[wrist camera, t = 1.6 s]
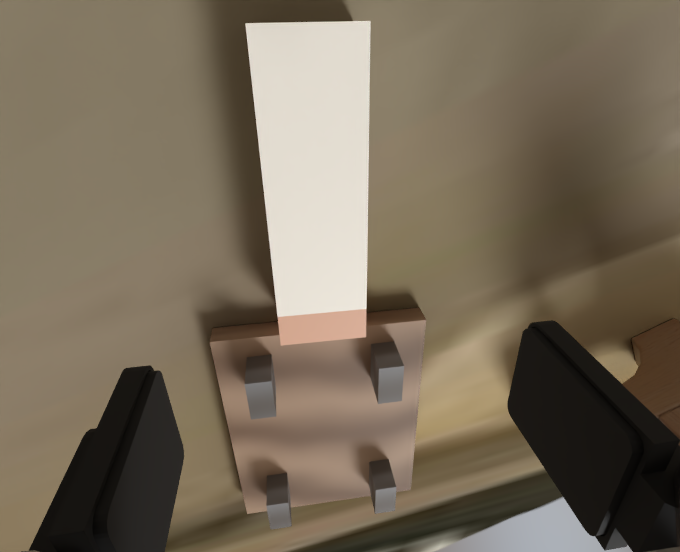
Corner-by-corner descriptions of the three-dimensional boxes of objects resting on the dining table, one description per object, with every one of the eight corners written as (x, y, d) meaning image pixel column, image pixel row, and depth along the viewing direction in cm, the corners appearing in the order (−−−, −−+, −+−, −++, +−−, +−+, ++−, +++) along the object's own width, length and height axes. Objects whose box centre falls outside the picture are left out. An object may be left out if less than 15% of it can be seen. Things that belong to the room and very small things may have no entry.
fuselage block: (250, 25, 20) (245, 23, 17) (354, 23, 21) (370, 20, 17) (279, 307, 28) (280, 345, 25) (354, 301, 29) (366, 337, 25)
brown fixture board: (212, 328, 28) (203, 369, 24) (419, 307, 29) (438, 343, 26) (248, 496, 37) (245, 544, 33) (405, 474, 38) (419, 517, 35)
